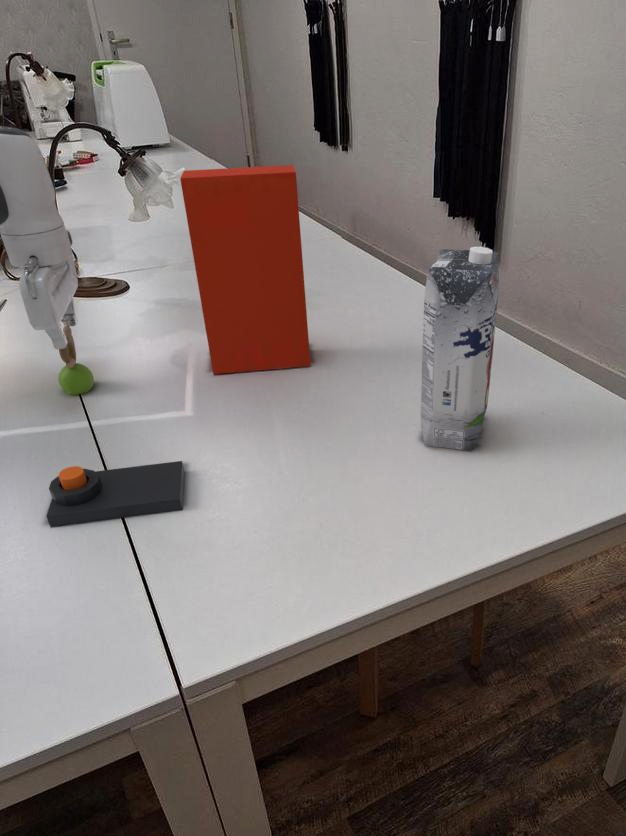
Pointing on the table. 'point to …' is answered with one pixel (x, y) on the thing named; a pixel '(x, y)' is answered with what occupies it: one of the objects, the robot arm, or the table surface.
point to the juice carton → (458, 346)
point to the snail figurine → (73, 368)
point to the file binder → (249, 266)
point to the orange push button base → (118, 494)
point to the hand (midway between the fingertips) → (66, 335)
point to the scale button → (72, 478)
